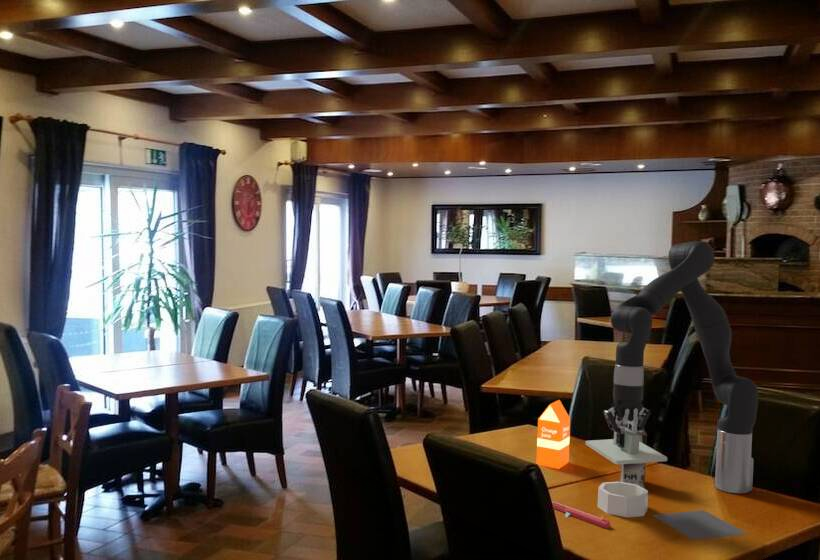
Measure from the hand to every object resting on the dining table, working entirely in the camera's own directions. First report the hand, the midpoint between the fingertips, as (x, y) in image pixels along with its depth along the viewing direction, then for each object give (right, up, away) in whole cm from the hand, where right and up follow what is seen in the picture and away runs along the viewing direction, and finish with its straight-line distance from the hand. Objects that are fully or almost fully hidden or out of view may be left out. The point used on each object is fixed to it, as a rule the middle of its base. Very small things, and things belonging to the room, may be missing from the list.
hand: (625, 446), depth 191 cm
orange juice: (-11, -15, +40) cm, 45 cm away
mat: (+16, -18, -9) cm, 26 cm away
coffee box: (+9, -16, +23) cm, 29 cm away
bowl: (-1, -17, +1) cm, 17 cm away
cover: (0, -2, 0) cm, 2 cm away
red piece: (-16, -17, -3) cm, 24 cm away
